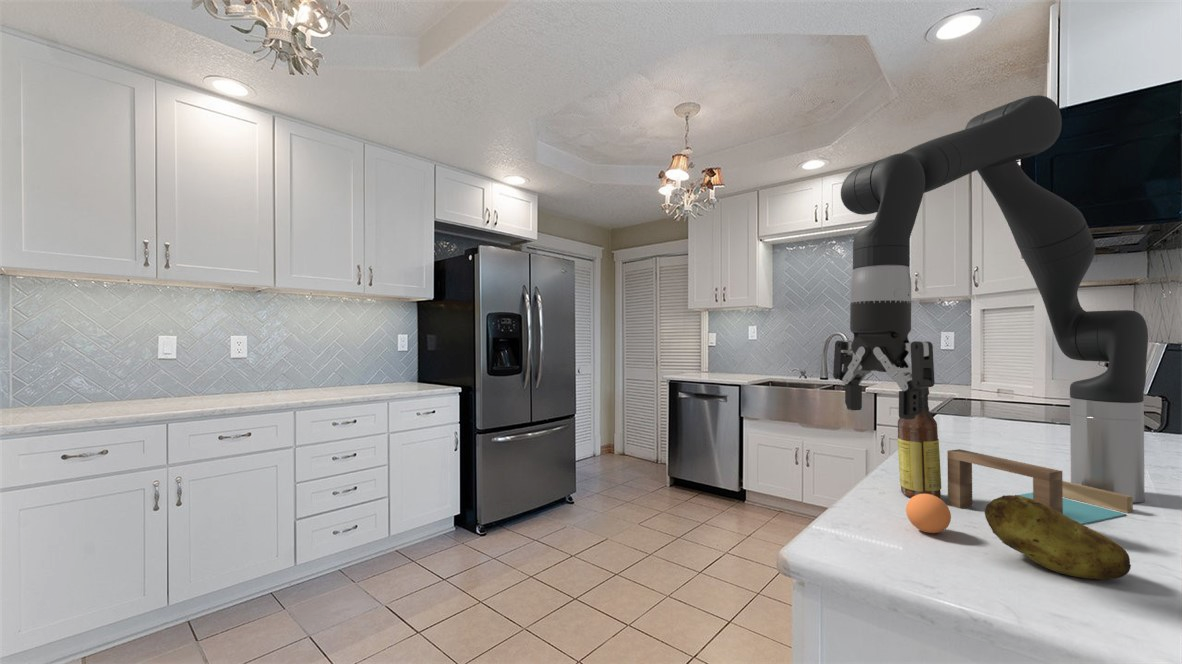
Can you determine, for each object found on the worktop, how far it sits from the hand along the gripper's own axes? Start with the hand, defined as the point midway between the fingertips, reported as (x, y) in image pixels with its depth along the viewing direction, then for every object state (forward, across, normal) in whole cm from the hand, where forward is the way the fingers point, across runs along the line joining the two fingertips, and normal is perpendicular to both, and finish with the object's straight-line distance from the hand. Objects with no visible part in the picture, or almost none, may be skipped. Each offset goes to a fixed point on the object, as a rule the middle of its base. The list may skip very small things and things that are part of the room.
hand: (878, 414), depth 70 cm
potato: (+18, -13, -14) cm, 26 cm away
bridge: (+17, 0, -26) cm, 31 cm away
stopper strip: (+17, 0, -48) cm, 51 cm away
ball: (+15, 0, -10) cm, 18 cm away
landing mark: (+17, 0, -40) cm, 43 cm away
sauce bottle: (+18, +12, -24) cm, 32 cm away
